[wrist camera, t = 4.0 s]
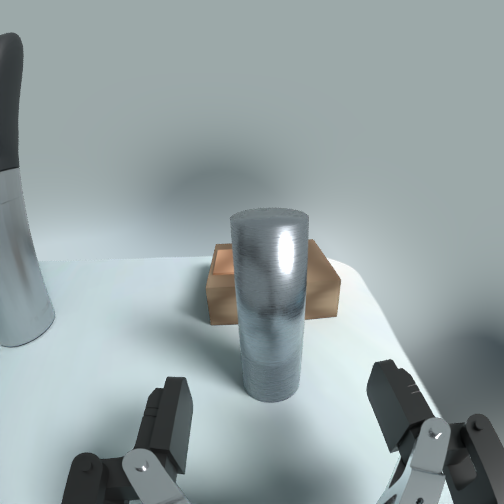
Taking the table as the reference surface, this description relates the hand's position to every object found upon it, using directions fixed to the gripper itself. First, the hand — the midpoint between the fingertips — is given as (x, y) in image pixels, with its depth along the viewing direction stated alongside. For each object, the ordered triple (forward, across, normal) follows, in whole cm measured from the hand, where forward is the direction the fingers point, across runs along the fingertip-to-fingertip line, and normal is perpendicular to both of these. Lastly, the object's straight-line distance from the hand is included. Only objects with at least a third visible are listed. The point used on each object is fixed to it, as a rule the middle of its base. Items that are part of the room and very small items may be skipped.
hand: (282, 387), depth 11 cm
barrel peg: (+6, 0, +6) cm, 9 cm away
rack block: (+19, -1, +6) cm, 20 cm away
